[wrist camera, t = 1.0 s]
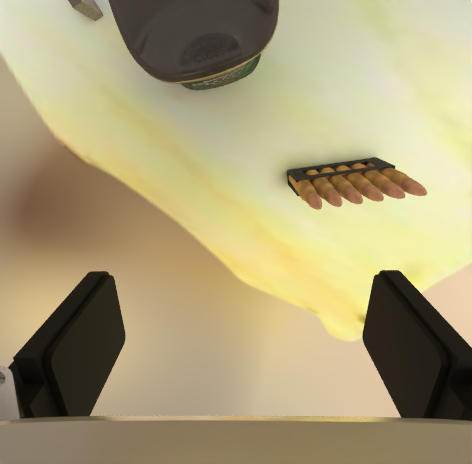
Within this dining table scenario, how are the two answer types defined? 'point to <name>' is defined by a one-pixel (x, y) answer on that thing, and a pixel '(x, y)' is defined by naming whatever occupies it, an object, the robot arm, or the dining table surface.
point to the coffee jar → (196, 37)
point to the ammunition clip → (351, 182)
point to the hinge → (87, 8)
